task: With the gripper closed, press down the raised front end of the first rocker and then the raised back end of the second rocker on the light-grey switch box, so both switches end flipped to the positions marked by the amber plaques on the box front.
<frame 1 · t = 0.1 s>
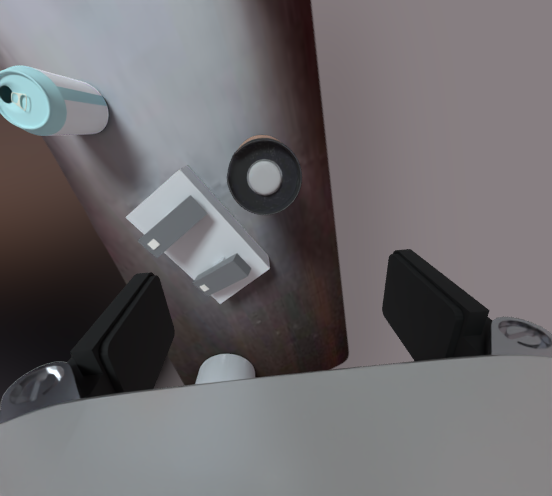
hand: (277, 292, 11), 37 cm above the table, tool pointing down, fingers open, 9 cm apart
can: (86, 108, 39), on the table
switch housing: (207, 233, 49), on the table
travel mug: (261, 158, 44), on the table
rocker 1: (173, 226, 39), point 8 cm above the table, hinge at -19.0°
rocker 2: (221, 276, 43), point 8 cm above the table, hinge at 19.0°
utensil holder: (227, 373, 64), on the table
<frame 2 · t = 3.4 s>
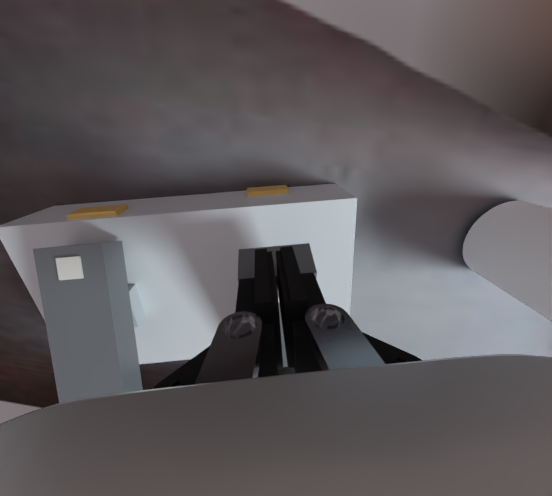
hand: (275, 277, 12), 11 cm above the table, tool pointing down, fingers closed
can: (493, 236, 24), on the table
switch housing: (209, 262, 23), on the table
rocker 1: (279, 318, 16), point 8 cm above the table, hinge at -19.0°, touching gripper
rocker 2: (92, 328, 15), point 8 cm above the table, hinge at 19.0°
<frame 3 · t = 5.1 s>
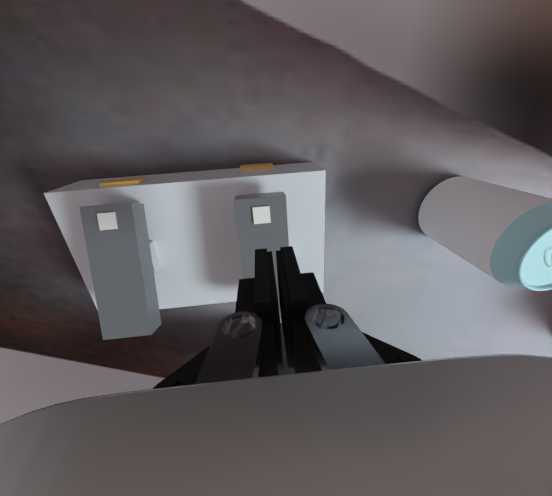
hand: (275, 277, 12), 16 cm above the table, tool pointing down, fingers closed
can: (444, 207, 29), on the table
switch housing: (210, 228, 28), on the table
rocker 1: (265, 259, 21), point 8 cm above the table, hinge at 5.4°
rocker 2: (123, 270, 20), point 8 cm above the table, hinge at 19.0°
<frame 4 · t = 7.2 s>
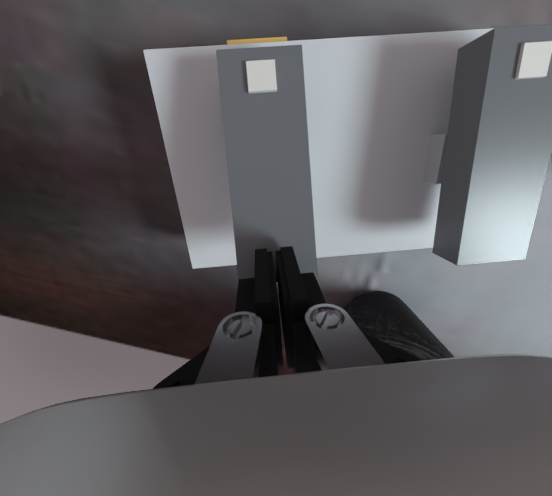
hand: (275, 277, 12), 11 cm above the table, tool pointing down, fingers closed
switch housing: (336, 155, 20), on the table
travel mug: (371, 318, 27), on the table
rocker 1: (494, 159, 13), point 8 cm above the table, hinge at 6.1°
rocker 2: (269, 173, 12), point 8 cm above the table, hinge at 18.9°, touching gripper
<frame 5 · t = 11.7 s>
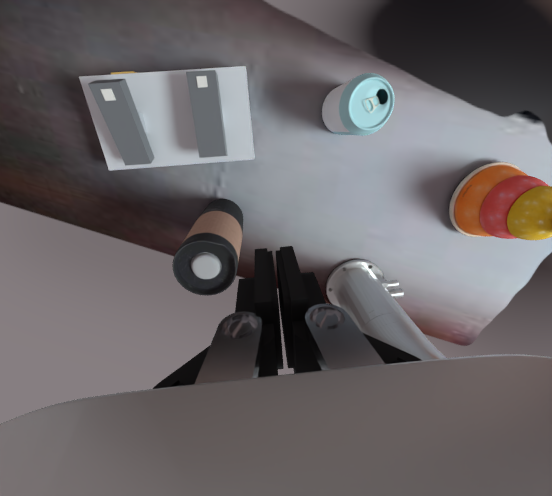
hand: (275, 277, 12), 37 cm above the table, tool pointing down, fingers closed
can: (341, 111, 43), on the table
switch housing: (182, 122, 42), on the table
stacking toy: (479, 198, 51), on the table
travel mug: (224, 217, 49), on the table
rocker 1: (208, 116, 34), point 8 cm above the table, hinge at 6.1°
rocker 2: (125, 125, 34), point 8 cm above the table, hinge at -18.3°
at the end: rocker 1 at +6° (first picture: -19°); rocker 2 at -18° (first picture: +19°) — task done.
